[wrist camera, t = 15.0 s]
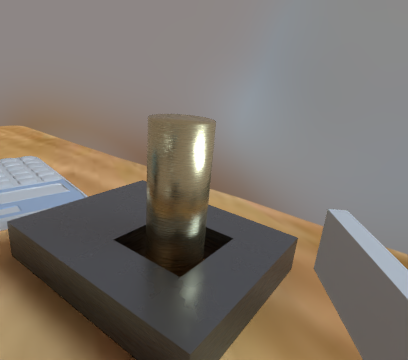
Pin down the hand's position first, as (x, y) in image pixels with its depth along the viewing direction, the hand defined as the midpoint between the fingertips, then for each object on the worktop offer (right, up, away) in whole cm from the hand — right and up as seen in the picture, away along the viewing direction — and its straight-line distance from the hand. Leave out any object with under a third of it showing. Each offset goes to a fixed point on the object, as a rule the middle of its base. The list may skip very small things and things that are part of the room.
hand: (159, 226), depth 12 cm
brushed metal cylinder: (-1, -5, +12) cm, 13 cm away
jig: (-2, -5, +13) cm, 14 cm away
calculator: (-22, 0, +24) cm, 32 cm away
